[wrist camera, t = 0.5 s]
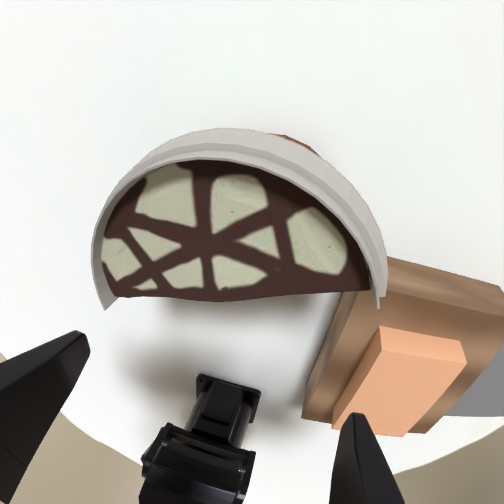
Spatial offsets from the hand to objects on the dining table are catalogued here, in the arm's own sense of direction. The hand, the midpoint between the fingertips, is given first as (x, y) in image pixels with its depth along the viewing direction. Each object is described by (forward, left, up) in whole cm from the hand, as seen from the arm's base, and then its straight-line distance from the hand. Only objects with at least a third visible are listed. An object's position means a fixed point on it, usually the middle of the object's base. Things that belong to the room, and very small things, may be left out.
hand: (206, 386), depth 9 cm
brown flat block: (-8, -11, -13) cm, 19 cm away
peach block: (-8, -10, -9) cm, 16 cm away
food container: (+3, +2, -13) cm, 14 cm away
